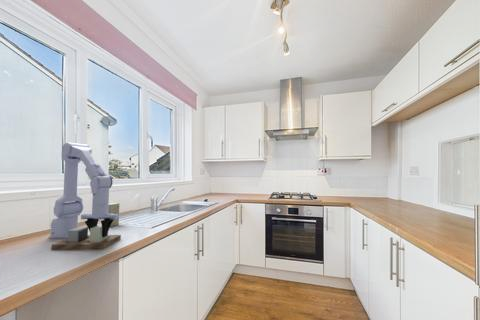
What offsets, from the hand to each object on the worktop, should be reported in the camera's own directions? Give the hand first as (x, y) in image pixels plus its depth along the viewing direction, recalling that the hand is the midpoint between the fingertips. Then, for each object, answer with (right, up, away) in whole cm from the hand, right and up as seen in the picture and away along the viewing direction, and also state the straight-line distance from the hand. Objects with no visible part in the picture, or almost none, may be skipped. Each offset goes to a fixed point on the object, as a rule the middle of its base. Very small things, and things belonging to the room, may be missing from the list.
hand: (99, 236), depth 86 cm
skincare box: (-13, -5, +29) cm, 33 cm away
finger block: (0, -2, 0) cm, 2 cm away
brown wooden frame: (-4, -3, 0) cm, 5 cm away
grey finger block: (-8, -3, 0) cm, 9 cm away
